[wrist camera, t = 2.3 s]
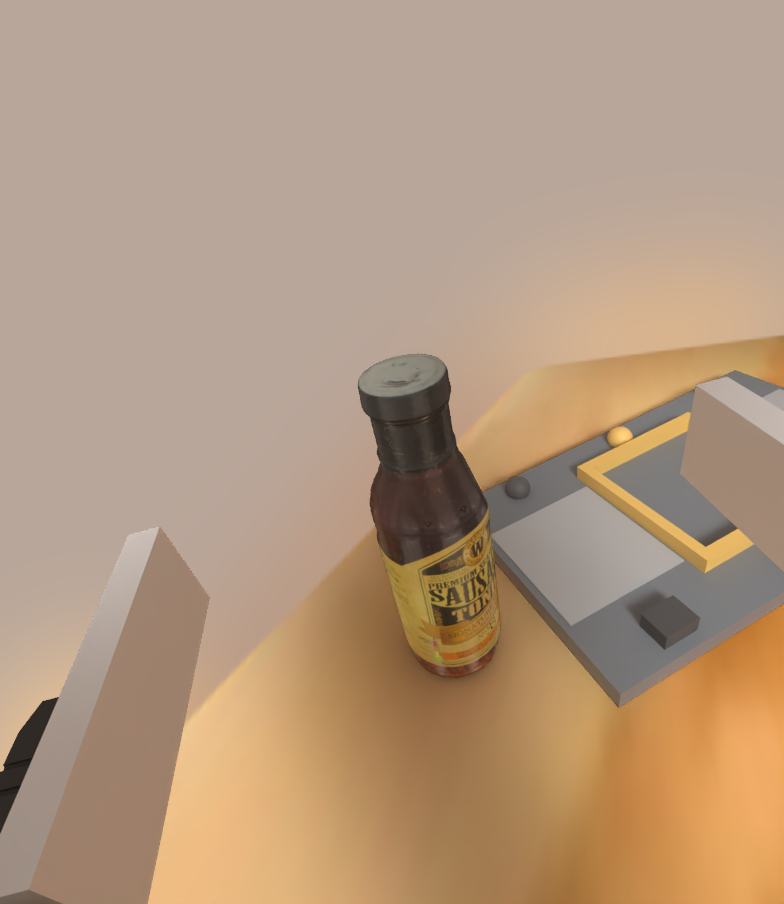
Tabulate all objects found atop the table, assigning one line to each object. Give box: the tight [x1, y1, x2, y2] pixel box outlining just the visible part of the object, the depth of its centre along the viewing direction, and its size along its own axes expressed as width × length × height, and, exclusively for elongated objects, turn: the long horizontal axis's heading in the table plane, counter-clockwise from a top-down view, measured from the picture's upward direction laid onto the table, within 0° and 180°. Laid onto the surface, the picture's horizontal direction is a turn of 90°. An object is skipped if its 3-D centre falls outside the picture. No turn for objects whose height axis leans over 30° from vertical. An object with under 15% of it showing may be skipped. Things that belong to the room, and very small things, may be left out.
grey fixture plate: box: [482, 370, 784, 707], centre depth 36 cm, size 31×18×3 cm, turn 114°
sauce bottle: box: [358, 354, 501, 678], centre depth 27 cm, size 7×6×20 cm
